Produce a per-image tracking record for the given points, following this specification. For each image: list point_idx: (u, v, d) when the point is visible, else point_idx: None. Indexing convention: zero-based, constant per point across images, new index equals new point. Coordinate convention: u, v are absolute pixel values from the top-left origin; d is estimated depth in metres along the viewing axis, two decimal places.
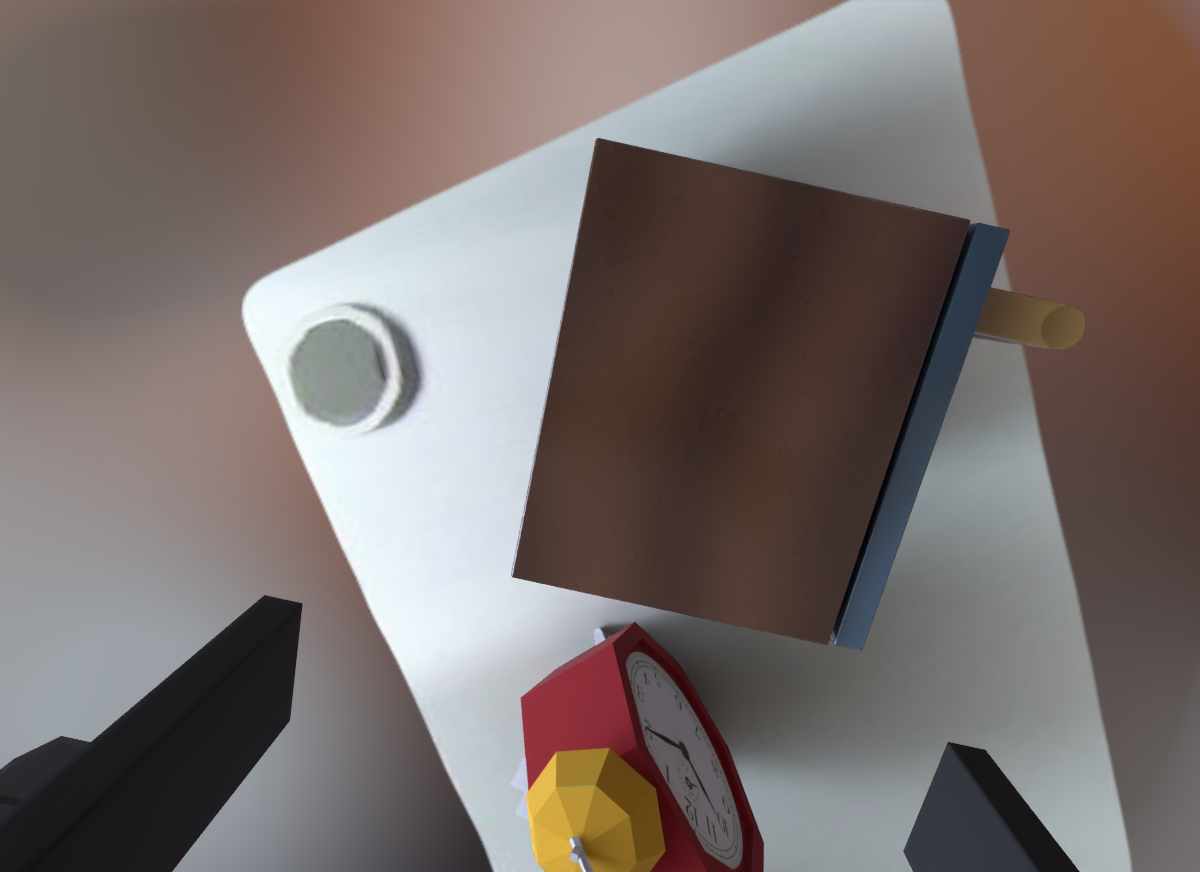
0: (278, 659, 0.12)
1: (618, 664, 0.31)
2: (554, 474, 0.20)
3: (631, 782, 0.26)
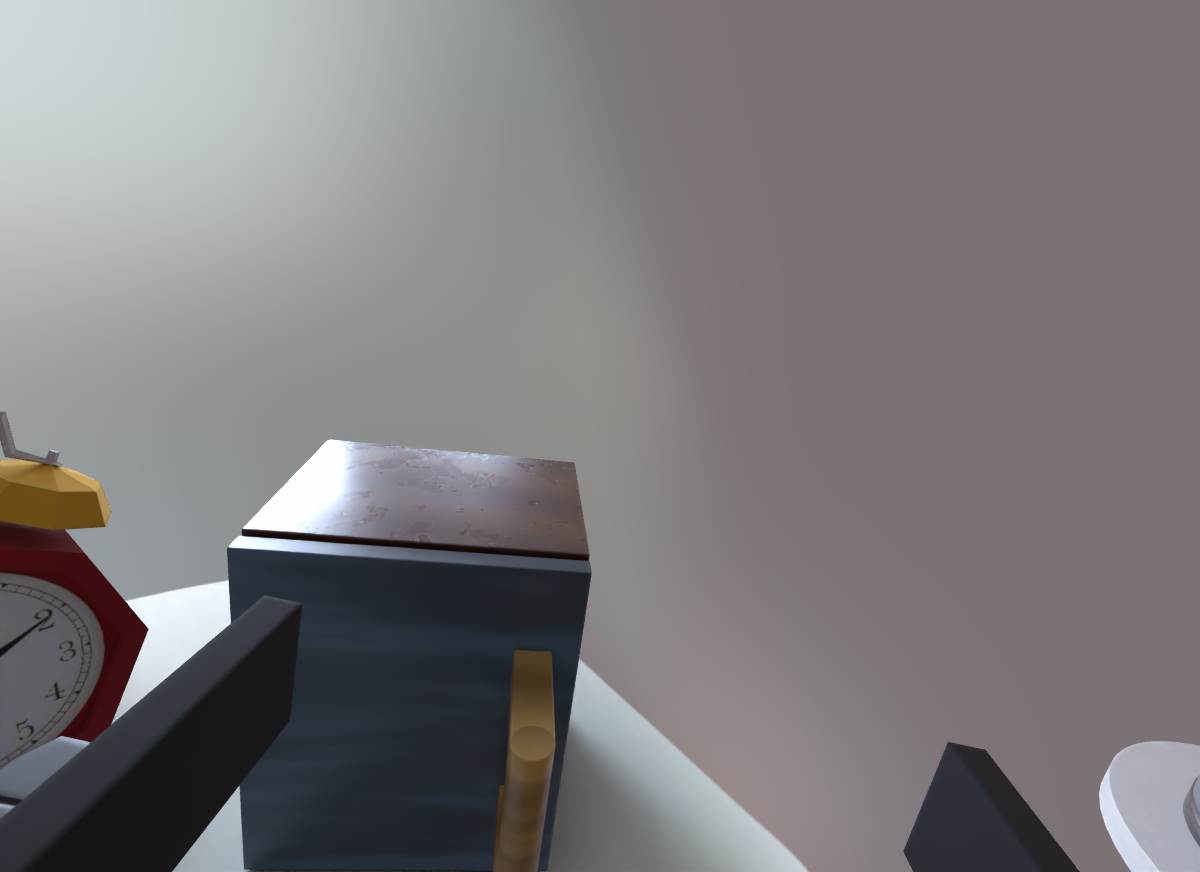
0: (278, 659, 0.12)
1: (134, 613, 0.31)
2: (397, 450, 0.35)
3: (74, 516, 0.29)
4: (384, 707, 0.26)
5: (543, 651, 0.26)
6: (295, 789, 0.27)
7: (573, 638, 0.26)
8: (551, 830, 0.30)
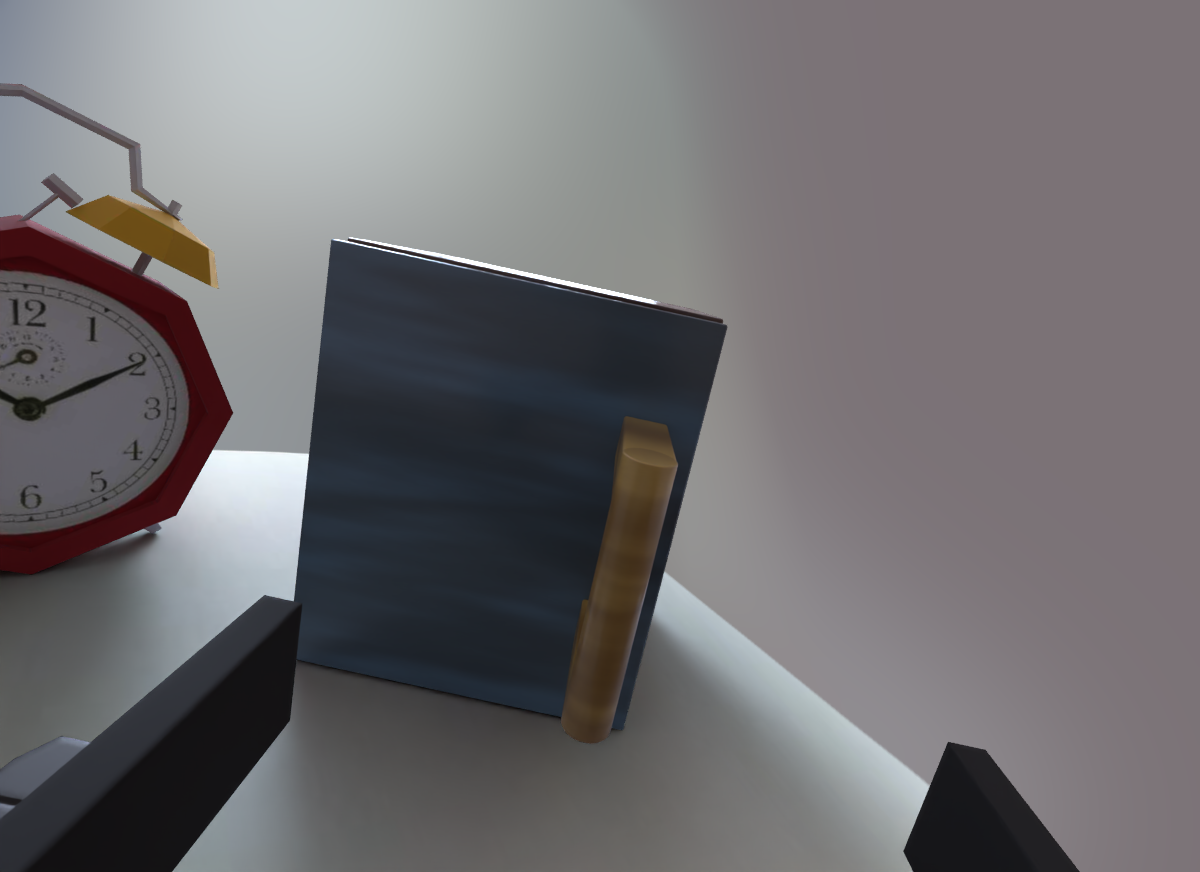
0: (278, 659, 0.12)
1: (222, 389, 0.30)
2: None
3: (183, 260, 0.28)
4: (468, 470, 0.23)
5: (658, 423, 0.22)
6: (357, 563, 0.24)
7: (695, 412, 0.22)
8: (635, 674, 0.25)
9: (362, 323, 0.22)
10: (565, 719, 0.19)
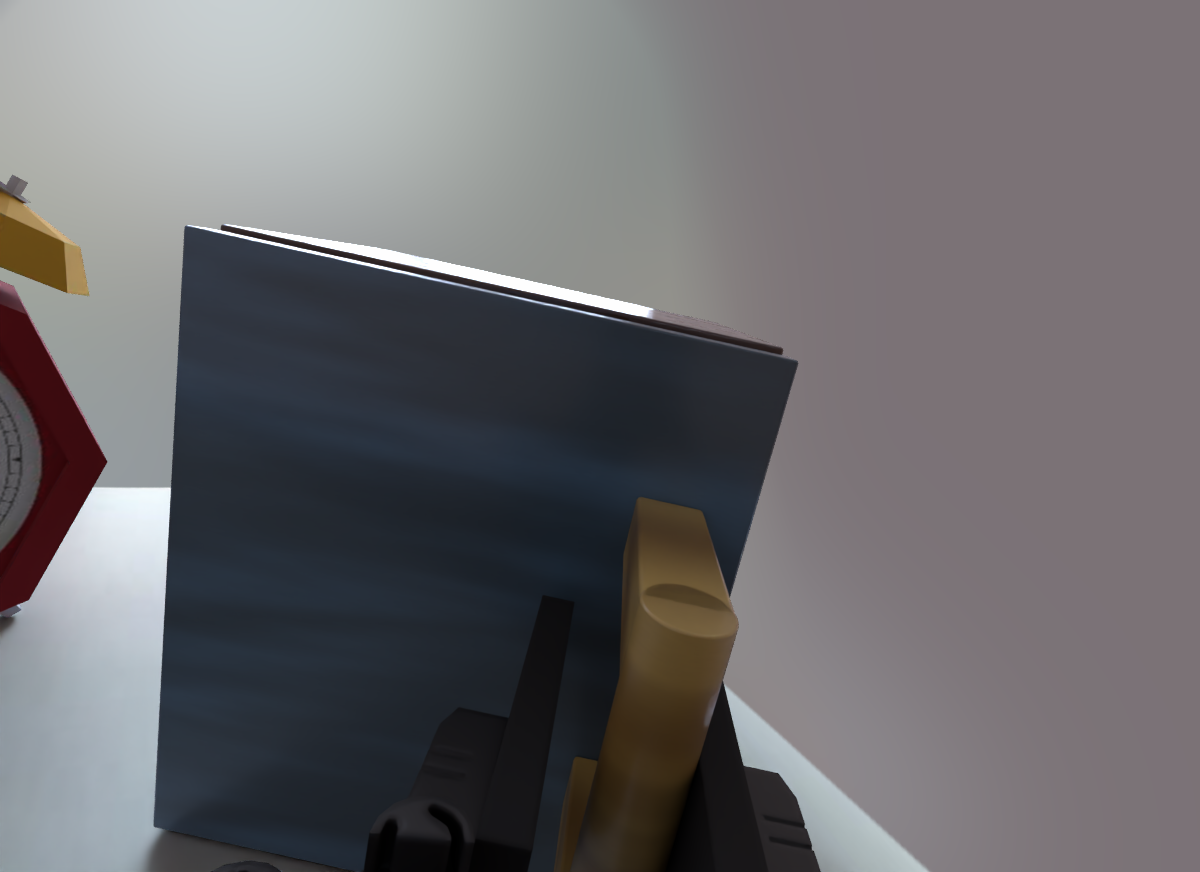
0: None
1: (88, 432, 0.22)
2: (475, 269, 0.25)
3: (20, 258, 0.20)
4: (403, 573, 0.15)
5: (689, 508, 0.15)
6: (245, 700, 0.17)
7: (745, 491, 0.15)
8: None
9: (237, 355, 0.14)
10: None
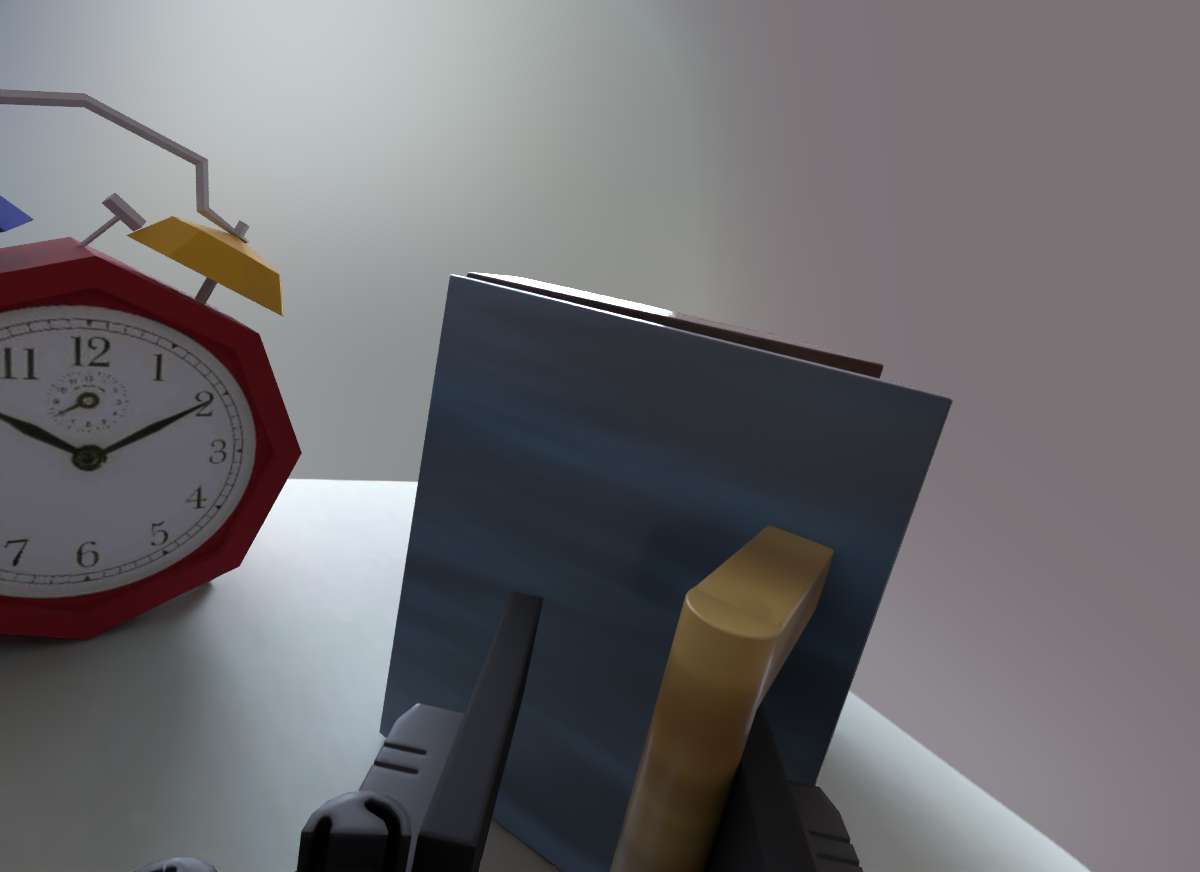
0: (532, 644, 0.14)
1: (291, 428, 0.27)
2: (595, 294, 0.30)
3: (256, 289, 0.25)
4: (562, 563, 0.18)
5: (820, 544, 0.14)
6: (445, 646, 0.21)
7: (884, 536, 0.14)
8: None
9: (470, 370, 0.19)
10: None
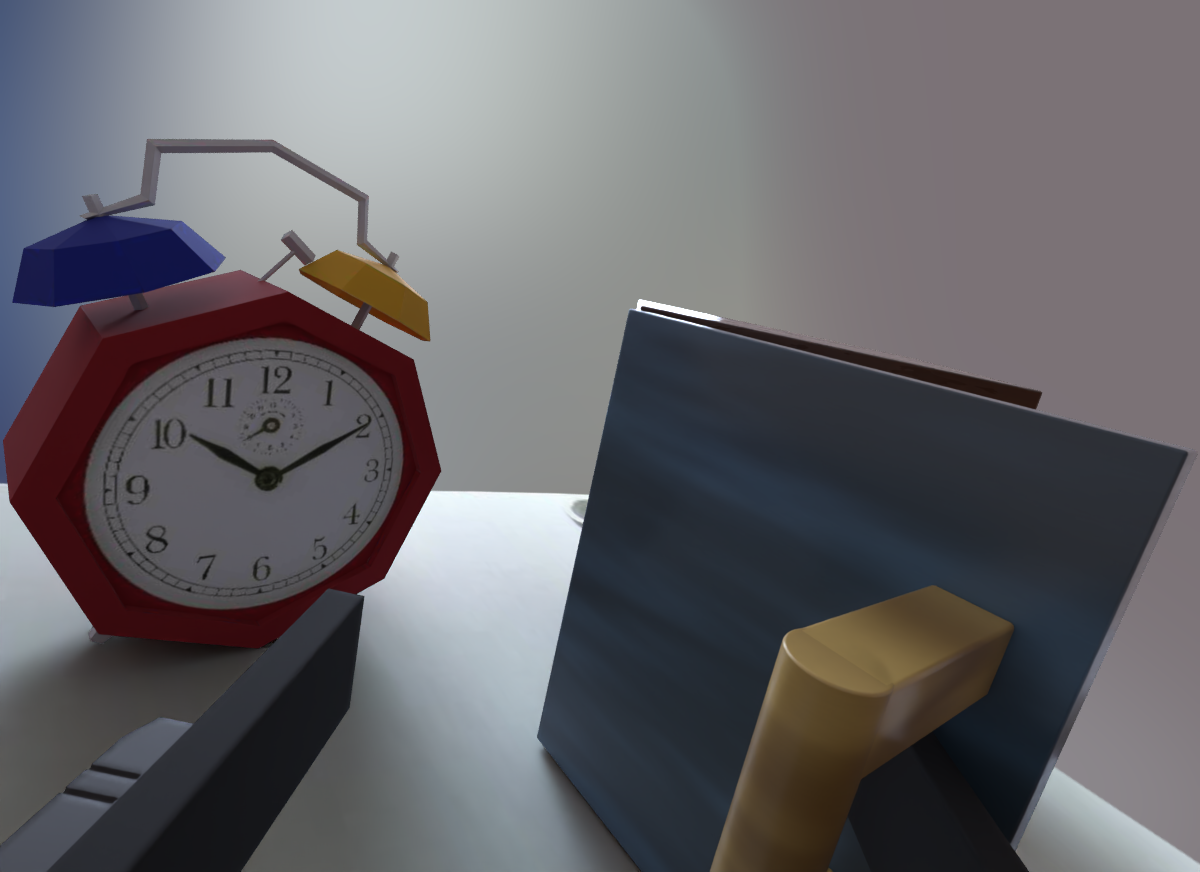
0: (344, 648, 0.12)
1: (434, 447, 0.29)
2: None
3: (412, 317, 0.26)
4: (709, 598, 0.17)
5: (997, 616, 0.12)
6: (597, 665, 0.21)
7: (1084, 616, 0.11)
8: None
9: (639, 398, 0.20)
10: None
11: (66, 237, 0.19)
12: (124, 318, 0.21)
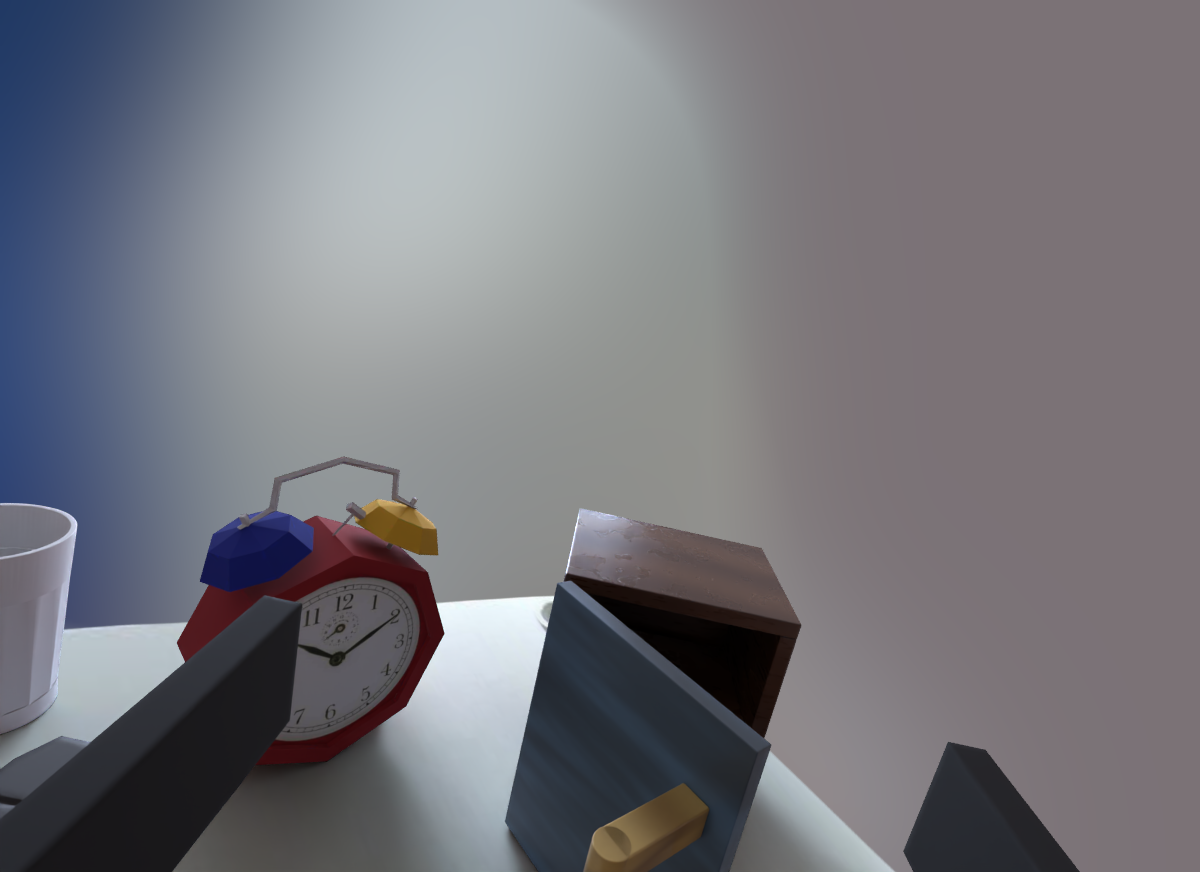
0: (278, 659, 0.12)
1: (440, 620, 0.43)
2: (631, 522, 0.46)
3: (427, 546, 0.41)
4: (596, 762, 0.32)
5: (704, 803, 0.27)
6: (540, 785, 0.36)
7: (729, 810, 0.26)
8: None
9: (562, 637, 0.34)
10: None
11: (232, 546, 0.34)
12: None
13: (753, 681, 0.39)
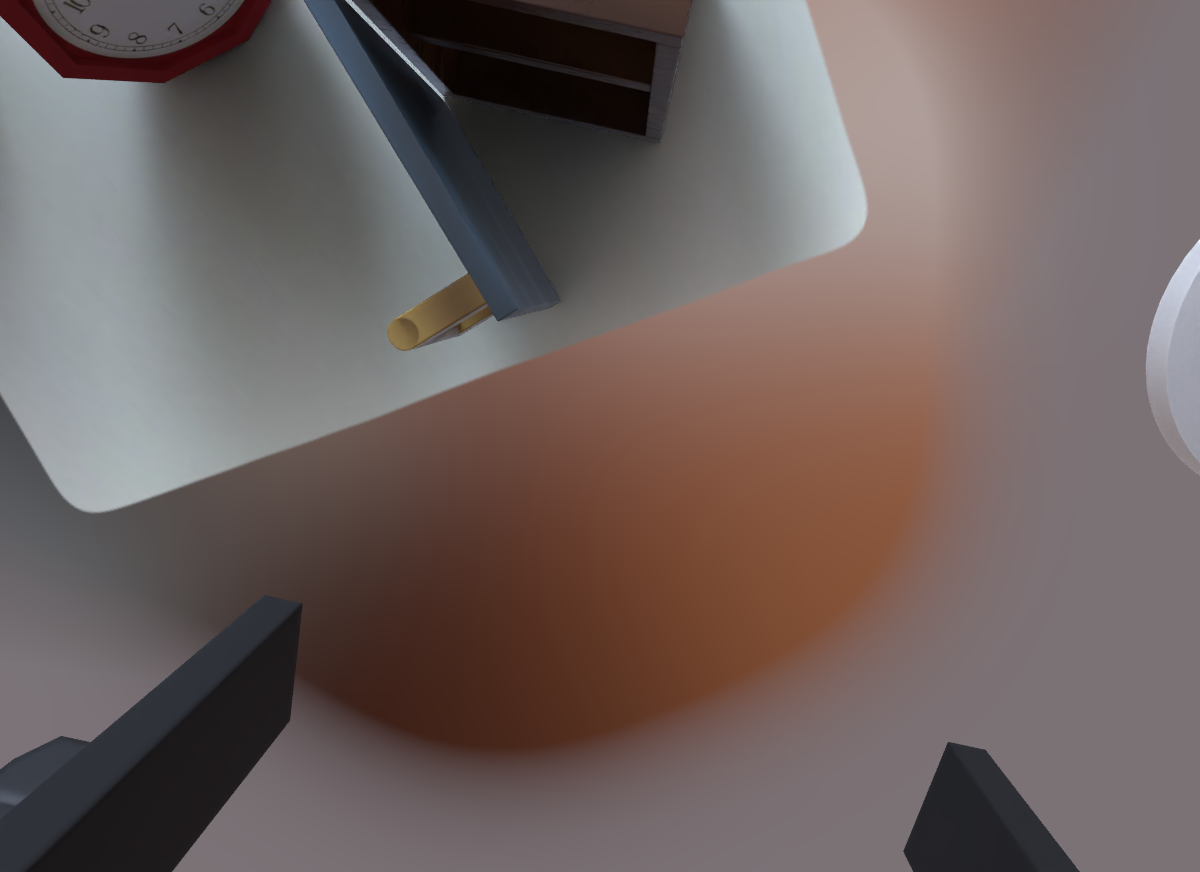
0: (278, 659, 0.12)
1: None
2: None
3: None
4: None
5: None
6: None
7: None
8: None
9: None
10: None
11: None
12: None
13: None
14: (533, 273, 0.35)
